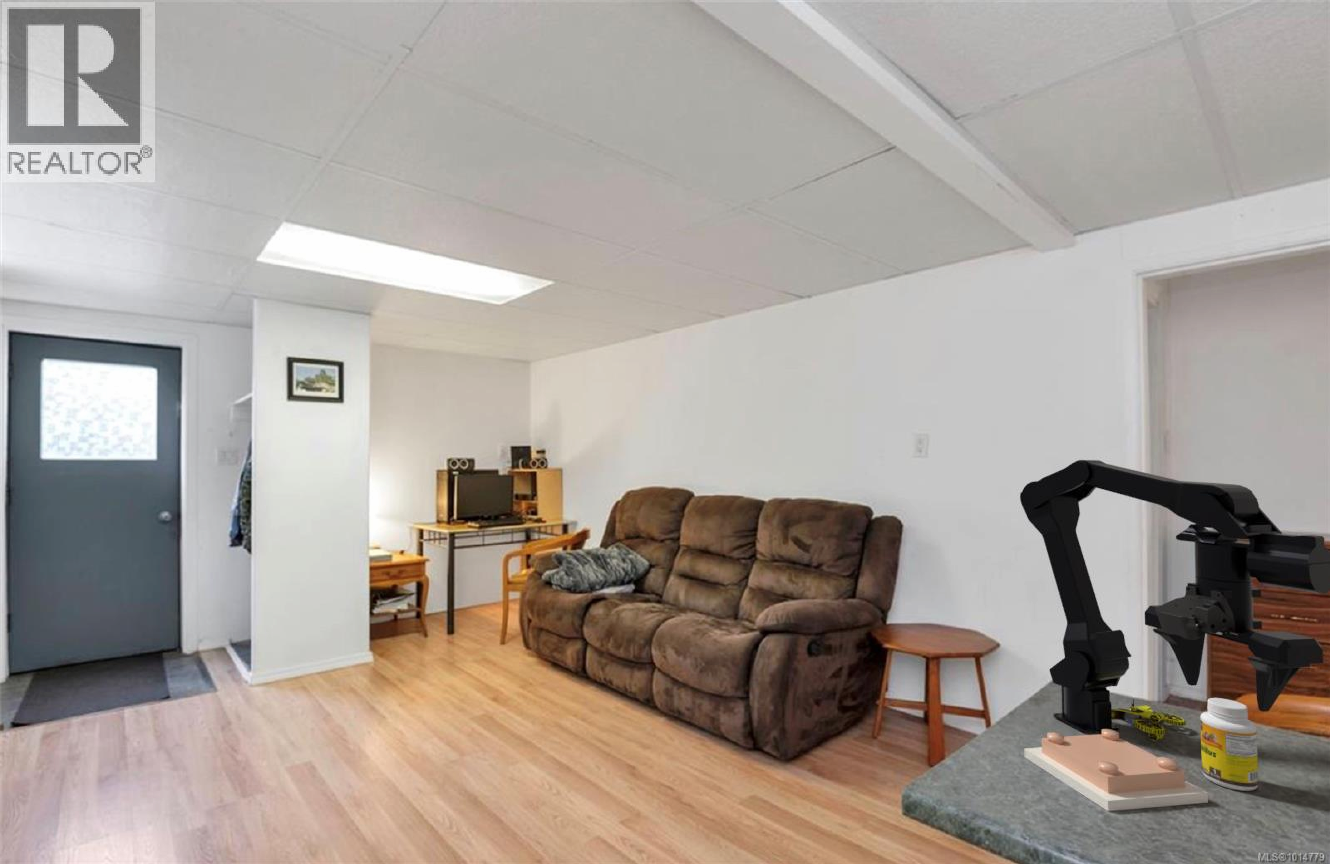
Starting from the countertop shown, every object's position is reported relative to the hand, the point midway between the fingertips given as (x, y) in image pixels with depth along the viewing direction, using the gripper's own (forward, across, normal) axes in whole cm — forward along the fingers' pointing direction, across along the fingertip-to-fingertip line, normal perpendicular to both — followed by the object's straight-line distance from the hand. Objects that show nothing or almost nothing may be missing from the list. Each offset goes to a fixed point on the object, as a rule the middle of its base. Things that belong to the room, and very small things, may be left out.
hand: (1226, 697), depth 84 cm
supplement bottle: (+11, 0, 0) cm, 11 cm away
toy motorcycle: (+11, -16, +4) cm, 19 cm away
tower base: (+11, -3, -15) cm, 19 cm away
